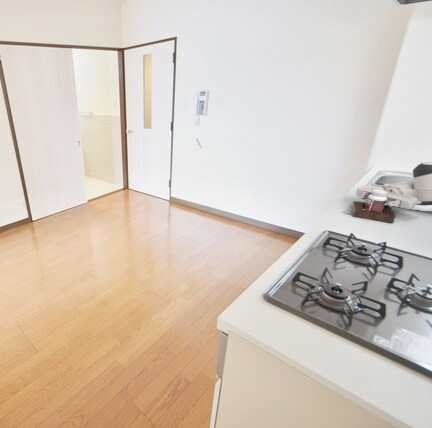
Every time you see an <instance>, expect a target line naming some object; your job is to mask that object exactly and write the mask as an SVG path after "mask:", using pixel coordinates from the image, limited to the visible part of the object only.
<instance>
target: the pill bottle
mask: <svg viewBox="0 0 432 428" xmlns="http://www.w3.org/2000/svg"><path fill="white" fill-rule="evenodd" d="M386 194H387V192H386V191H384V190H378V189H375V190H373V191H372V194H370V195H369V196H368V198H366V201H365V203H366V204H365V207H364V210H369V211H376V212H382V211H383V209H384V206H385V205H386V201H387V197H386Z"/></svg>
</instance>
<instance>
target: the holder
mask: <svg viewBox="0 0 432 428" xmlns="http://www.w3.org/2000/svg"><path fill="white" fill-rule="evenodd" d="M365 204H366V201H359V200H358V201H357V200H352V204H351V206H352V208H351V213H352V217H353V218H359V219H364V220H371V221H376V222H382V223H388V224H394V221H395V219H396V215H395V213H394V211H393V208H392V206H387V205H386V204H385V206H384V209H383V211H382V212H376V211H369V210H363V209H364V207H365Z"/></svg>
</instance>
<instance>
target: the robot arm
mask: <svg viewBox="0 0 432 428" xmlns="http://www.w3.org/2000/svg"><path fill="white" fill-rule="evenodd" d="M412 177H413V180H403V181H398V182H395V183H379V182H378V183H377V182H371V183H370V184H365V185H362V186H359V187H357V189H356V191H355V196H357V197H360V199H362V200H367V198H368V196H369V195H370V194H372V191H373V190H375V189H378V190H384V191H386V192H387V194H386V197H387V201H386V203H385V205H387V206H391V207H398V208H401V209H405V210H412V209H413V208H415V207H416V206H423V207H425V206H432V161H424V162H421V163H419V164H418V165H417V166H415V167H414V168H413V170H412Z"/></svg>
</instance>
